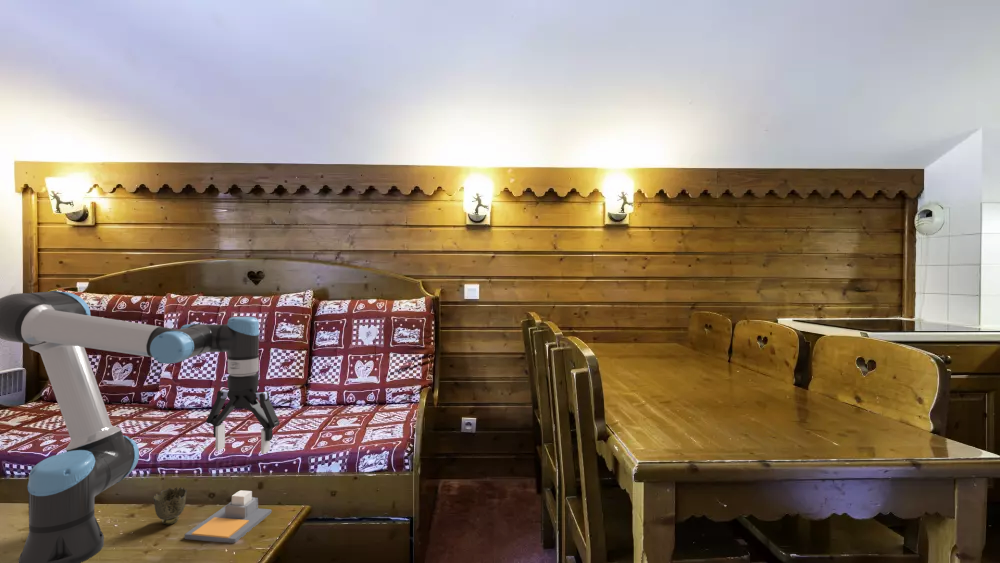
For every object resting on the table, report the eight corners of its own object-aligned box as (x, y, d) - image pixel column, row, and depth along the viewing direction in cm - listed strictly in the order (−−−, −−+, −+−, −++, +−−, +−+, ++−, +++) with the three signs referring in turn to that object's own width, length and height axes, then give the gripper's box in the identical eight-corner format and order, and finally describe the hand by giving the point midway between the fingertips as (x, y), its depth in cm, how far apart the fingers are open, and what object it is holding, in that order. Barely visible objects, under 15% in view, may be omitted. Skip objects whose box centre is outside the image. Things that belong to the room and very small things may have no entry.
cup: (169, 531, 125) (169, 500, 125) (146, 527, 127) (146, 497, 127) (193, 517, 133) (193, 488, 132) (171, 514, 134) (170, 485, 134)
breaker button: (231, 507, 132) (231, 495, 132) (240, 501, 135) (240, 490, 135) (243, 508, 131) (243, 496, 131) (251, 502, 134) (251, 491, 134)
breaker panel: (184, 538, 122) (184, 522, 122) (225, 509, 137) (225, 495, 137) (235, 543, 120) (235, 526, 120) (271, 513, 135) (271, 498, 135)
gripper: (191, 374, 130) (191, 452, 130) (277, 378, 126) (276, 458, 127) (211, 368, 137) (211, 442, 138) (293, 372, 134) (292, 448, 134)
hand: (242, 450), depth 132 cm, fingers open, 13 cm apart
